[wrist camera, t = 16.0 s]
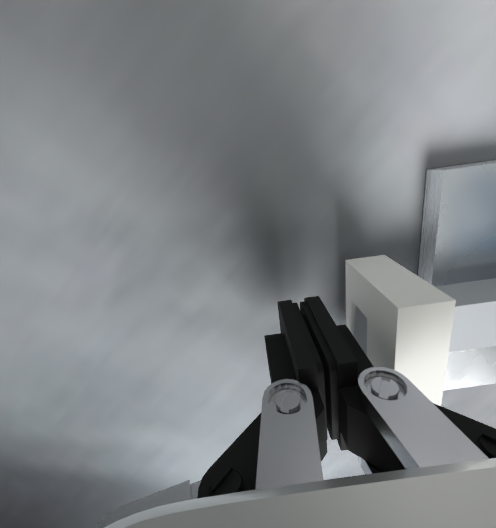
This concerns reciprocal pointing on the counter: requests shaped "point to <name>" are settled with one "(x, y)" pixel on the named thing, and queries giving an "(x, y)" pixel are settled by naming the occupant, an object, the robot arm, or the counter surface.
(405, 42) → the counter surface
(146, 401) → the counter surface
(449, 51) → the counter surface
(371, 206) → the counter surface
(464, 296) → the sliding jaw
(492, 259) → the vise
